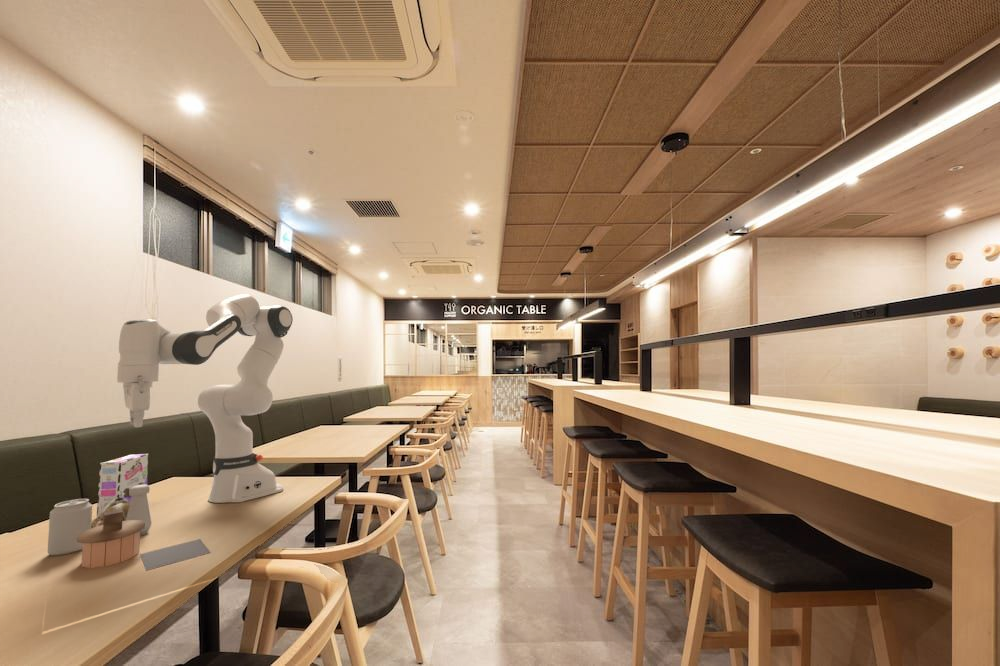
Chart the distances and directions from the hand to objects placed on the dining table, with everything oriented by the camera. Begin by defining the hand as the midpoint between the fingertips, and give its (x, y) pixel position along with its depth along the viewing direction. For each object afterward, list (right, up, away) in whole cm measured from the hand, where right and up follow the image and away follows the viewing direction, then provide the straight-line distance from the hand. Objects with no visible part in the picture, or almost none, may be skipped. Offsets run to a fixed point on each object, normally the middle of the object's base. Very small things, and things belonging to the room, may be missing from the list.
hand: (136, 425), depth 119 cm
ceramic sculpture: (-6, -30, +2) cm, 31 cm away
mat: (+24, -28, -17) cm, 40 cm away
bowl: (+10, -28, -18) cm, 35 cm away
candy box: (-19, -31, +17) cm, 41 cm away
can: (-5, -29, -13) cm, 32 cm away
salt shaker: (+3, -29, -4) cm, 29 cm away
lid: (+10, -22, -18) cm, 30 cm away
